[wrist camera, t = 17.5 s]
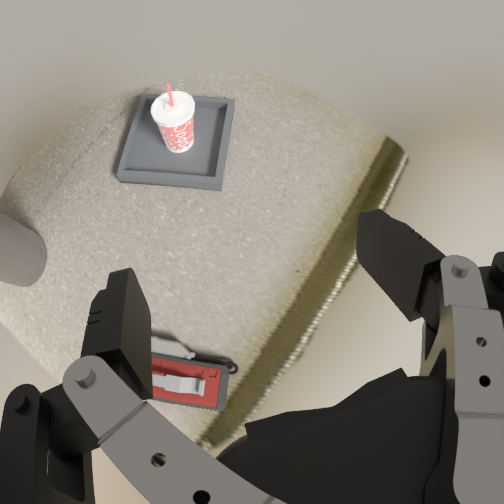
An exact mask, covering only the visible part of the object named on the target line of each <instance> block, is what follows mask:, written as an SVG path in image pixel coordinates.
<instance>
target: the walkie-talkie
mask: <svg viewBox="0 0 504 504" xmlns="http://www.w3.org/2000/svg"><path fill="white" fill-rule="evenodd" d="M151 354H152V382H153V399H152V400H157V401H162V402H166V403H172V404H178V405H179V404H180V405H186V406H190V407H194V408H195V407H198V408H202V409H204V408H205V409H207V410H208V409H210V410H215V411H216V410H219V411H220V410H222V409H224V408H225V403H226V396H227V388H228V381H229V374H231V375H233V374H236V373H237V371H238V366H237V365H236V364H235V363H233V362H226V361H219V360H212V359H206V358H202V357H200V356H199V355H197V354H195V353H194V352H190V351H189V350H188V349H187V348H186V347H185V346H184V345H183V344H182V343H181V342H178V341H172V340H167V339H162V338H159V337H157V336H152V337H151ZM195 357H196V358H198V359H199V360H198V359H197V360H195V359H192V358H195ZM227 365H232V366H234V367H235V368H236V369H235V371H230V369H229V367H228V366H227Z"/></svg>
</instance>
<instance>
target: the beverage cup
mask: <svg viewBox="0 0 504 504" xmlns="http://www.w3.org/2000/svg"><path fill="white" fill-rule="evenodd" d="M166 85H167V91H168V92H167V93H164V94H162V95H161V96H159V97H158V98H156V99H155V101H154V102H153V104H152V106H151V114H152V117H153V119H154V121H155V122H156V123H157V125H158V127H159V130H160V132H161V134H162V137H163V139H164V142H165V144H166V147H167V148H168V149H169V150H170V151H171V152H175V153H182V152H184V151H187V150H188V149H189V148H190V147H191V146H192V144H193V141H194V132H193V114H194V111H195V102H194V100H193V98H192V96H190V95H189V94H187V93H186V92H182V91H171V86H170V82H169V81H168V82H166Z"/></svg>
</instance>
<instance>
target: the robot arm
mask: <svg viewBox="0 0 504 504" xmlns="http://www.w3.org/2000/svg"><path fill="white" fill-rule="evenodd" d="M356 253H357V257H358V260H359V262H360V264H361V266H362V267H363V268H364V269H365V270H366V271H367V272H368V273H369V275H370V276H371V277H372V278H373V279H374V280H375V281H376V283H377V284H378V285H379V286H380V287H381V288H382V289H383V290H384V292H385V293H386V294H387V295H388V296H389V298H390V299H391V300H392V301H393V302H394V303H395V305H396V306H397V307H398V308H399V309H400V311H401V312H402V313H403V314H404V315H405V317H406V318H407V319H408V320H409V321H410V322H411V321H414V320H416V319H418V318H420V317H423V318H424V323H423V327H422V351H421V367H420V373H419V376H411V377H407V375H406V374H405V372H404V371H403V369H402V368H399V369H397V370H395V371H393V372H391V373H388V374H386V375H384V376H382V377H379V378H377V379H375V380H373V381H370V382H368V383H366V384H365V385H364V386H362V387H361V388H360V389H358V390H357V391H356V392H354V393H353V394H351V395H350V396H348V397H347V398H346V399H344V400H343V401H341V402H340V403H338V404H337V405H335V406H333V407H328V408H321V409H313V410H302V411H291V412H285V413H281V414H278V415H275V416H271V417H268V418H264V419H260V420H257V421H253V422H249V423H245V424H244V425H245V428H246V432H247V435H245V436H243V437H241V438H239V439H238V440H236V441H235V442H233V443H232V444H230V445H229V446H228V447H227V448H225V449H224V450H223V451H222V452H221V453H220V454H219V455H218V456H217V457H216V458H214V457H212V456H211V455H210V454H208V453H207V452H206V451H204V450H203V449H202V448H201V447H199V446H198V445H197V444H196V443H194V442H193V441H192V440H191V439H189V438H188V437H187V436H186V435H185V434H183V433H182V432H181V431H180V430H179V429H177V428H176V427H175V426H174V425H173V424H172V423H170V422H169V421H168V420H167V419H166V418H165V417H164V416H163V415H161V414H160V413H159V412H158V411H157V410H156V409H155V408H154V407H153V406H152V405H150V404H149V403H148V402H147V401H145V402H144V401H142V400H147V399H153V382H152V354H151V315H150V310H149V307H148V304H147V301H146V299H145V297H144V294H143V292H142V290H141V287H140V285H139V283H138V280H137V278H136V275H135V273H134V271H133V269H132V268H127V269H123V270H119V271H115V272H111V273H110V274H109V278H108V282H107V287H106V289H104V290H100V291H99V292H98V294H97V295H96V296H95V298H94V299H93V301H92V303H91V307H90V312H89V314H90V315H89V316H88V321H87V324H88V325H87V326H86V330H85V335H84V341H83V346H82V351H81V357H80V358H79V359H77V360H76V361H74V362H73V363H72V364H71V365H70V366H69V367H68V368H67V370H66V372H65V374H64V376H63V383H62V384H60V385H58V386H56V387H53V388H51V389H49V390H47V391H45V392H43V393H41V392H40V391H39V390H38V389H37V388H36V387H35V386H33V385H31V384H23V385H20V386H18V387H16V388H15V389H14V390H13V391H12V392H11V393H10V394H9V396H8V398H7V399H6V402H5V405H4V410H3V416H2V422H1V429H0V504H95V496H94V486H93V473H92V456H91V451H92V450H94V449H96V448H99V447H101V449H102V450H103V451H104V452H105V453H106V455H107V456H108V457H109V459H110V460H111V461H112V462H113V463H114V465H115V466H116V467H117V468H118V469H119V470H120V472H121V473H122V474H123V475H124V476H125V477H126V478H127V479H128V481H129V482H130V483H131V484H132V485H133V486H134V487H135V488H136V489H137V490H138V491H139V492H140V493H141V494H142V495H143V496H144V497H145V498H146V499H147V500H148V501H149V502H150V503H151V504H504V252H498V253H496V254H495V256H494V258H493V261H492V265H491V266H485V267H478V266H477V265H476V264H475V263H474V262H473V261H471V260H469V259H468V258H466V257H463V256H458V255H451V256H447V257H446V256H445V255H444V254H443V253H442V252H440V251H439V250H438V249H437V248H436V247H434V246H433V245H432V244H431V243H429V242H428V241H427V240H426V239H425V238H422V236H421V235H420V234H418V233H417V232H415V230H413V229H412V228H411V227H410V226H408V225H407V224H406V223H403V222H401V221H398V220H396V219H393V218H391V217H390V216H389V215H388V214H386V213H385V212H384V211H382V210H381V209H374V210H369V211H365V212H361V213H360V214H359V216H358V224H357V245H356ZM46 257H47V253H46V246H45V243H44V241H43V239H42V238H41V236H40V235H38V234H37V233H36V232H34V231H32V230H30V229H29V228H27V227H25V226H23V225H22V224H20V223H18V222H17V221H15V220H13V219H11V218H10V217H8V216H6V215H5V214H3V213H1V212H0V281H2V282H6V283H9V284H13V285H18V286H22V287H26V286H29V285H32V284H33V283H35V282H36V281H37V280H38V279H39V277H40V276H41V274H42V272H43V270H44V268H45V264H46ZM47 465H48V473H47Z"/></svg>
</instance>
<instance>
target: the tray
mask: <svg viewBox="0 0 504 504" xmlns="http://www.w3.org/2000/svg"><path fill="white" fill-rule="evenodd" d="M159 96H161V95H150V94H142V97H141V99H140V102H139V105H138V108H137V110H136V113H135V116H134V119H133V122H132V125H131V128H130V131H129V134H128V137H127V140H126V143H125V147H124V150H123V153H122V157H121V160H120V164H119V167H118V171H117V174H116V176H117V178H118V179H119V181H120V182H121V183H135V184H149V185H161V186H173V187H184V188H195V189H205V190H215V191H221V189H222V182H223V176H224V169H225V162H226V156H227V149H228V143H229V136H230V130H231V124H232V118H233V112H234V102H235V99H226V98H215V97H201V96H192V98H193V100H194V102H195V111H194V114H193V132H194V141H193V144H192V146H191V147H190V148H189V149H188V150H187V151H184V152H182V153H175V152H171V151H170V150H169V149H168V148H167V147H166V144H165V142H164V139H163V137H162V134H161V132H160V130H159V127H158V125H157V123H156V122H155V121H154V119H153V117H152V114H151V106H152V104H153V102H154V101H155V99H156V98H158V97H159Z"/></svg>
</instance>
